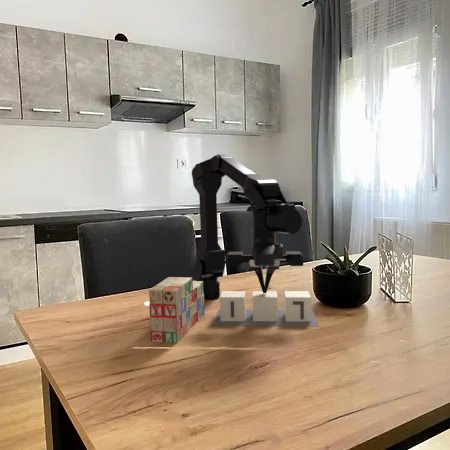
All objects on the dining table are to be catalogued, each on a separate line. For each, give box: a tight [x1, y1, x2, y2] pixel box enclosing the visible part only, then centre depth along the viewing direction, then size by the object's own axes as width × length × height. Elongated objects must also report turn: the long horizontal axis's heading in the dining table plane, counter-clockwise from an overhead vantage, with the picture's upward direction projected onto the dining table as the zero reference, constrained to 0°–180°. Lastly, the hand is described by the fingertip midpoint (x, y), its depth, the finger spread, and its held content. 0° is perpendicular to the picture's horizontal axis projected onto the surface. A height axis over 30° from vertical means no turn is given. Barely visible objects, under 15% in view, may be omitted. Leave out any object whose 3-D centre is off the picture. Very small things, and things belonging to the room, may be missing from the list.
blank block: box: [252, 290, 279, 321], centre depth 113 cm, size 6×6×6 cm
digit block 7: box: [283, 290, 312, 322], centre depth 112 cm, size 6×6×6 cm
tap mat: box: [212, 309, 319, 327], centre depth 113 cm, size 25×13×1 cm, turn 85°
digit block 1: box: [219, 290, 247, 321], centre depth 113 cm, size 6×6×6 cm
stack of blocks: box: [148, 276, 205, 344], centre depth 107 cm, size 21×6×12 cm, turn 167°
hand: (264, 292), depth 112 cm, fingers closed
